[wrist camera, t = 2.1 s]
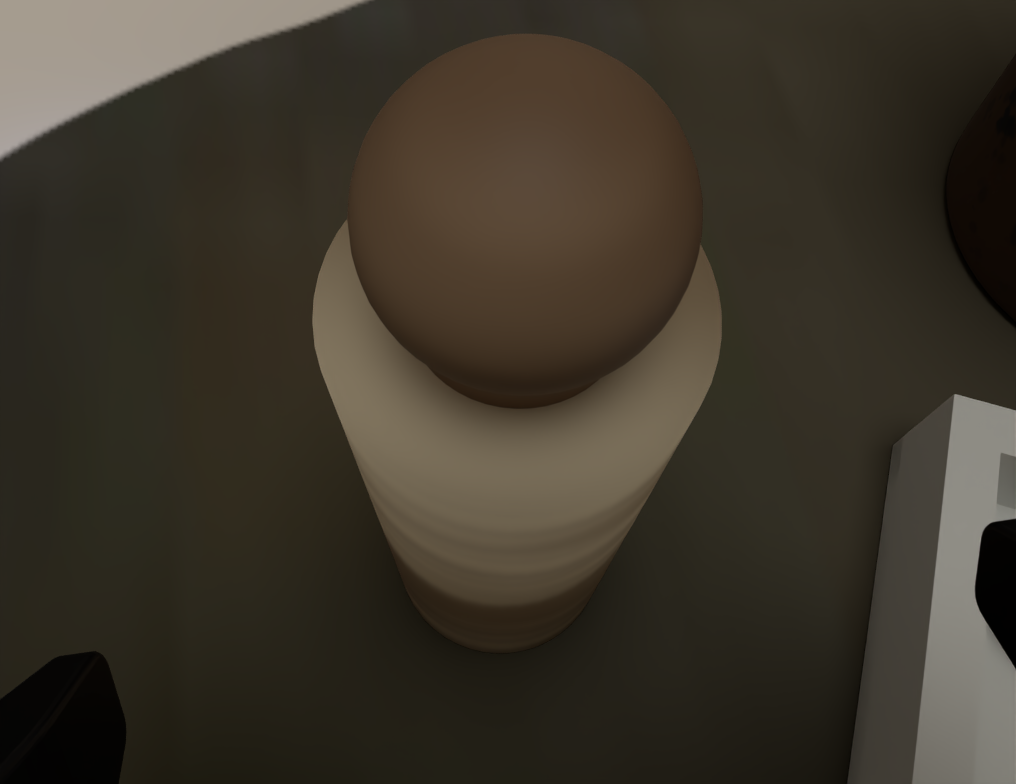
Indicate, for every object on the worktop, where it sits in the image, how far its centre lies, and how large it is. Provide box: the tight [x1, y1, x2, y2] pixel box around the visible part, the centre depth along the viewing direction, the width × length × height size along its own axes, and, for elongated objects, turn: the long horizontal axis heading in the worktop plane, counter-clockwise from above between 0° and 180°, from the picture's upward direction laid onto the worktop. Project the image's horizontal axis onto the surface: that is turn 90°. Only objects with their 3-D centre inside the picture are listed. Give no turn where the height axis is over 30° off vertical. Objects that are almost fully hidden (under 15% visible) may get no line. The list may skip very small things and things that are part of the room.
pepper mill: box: [312, 34, 722, 653], centre depth 13 cm, size 4×4×14 cm
